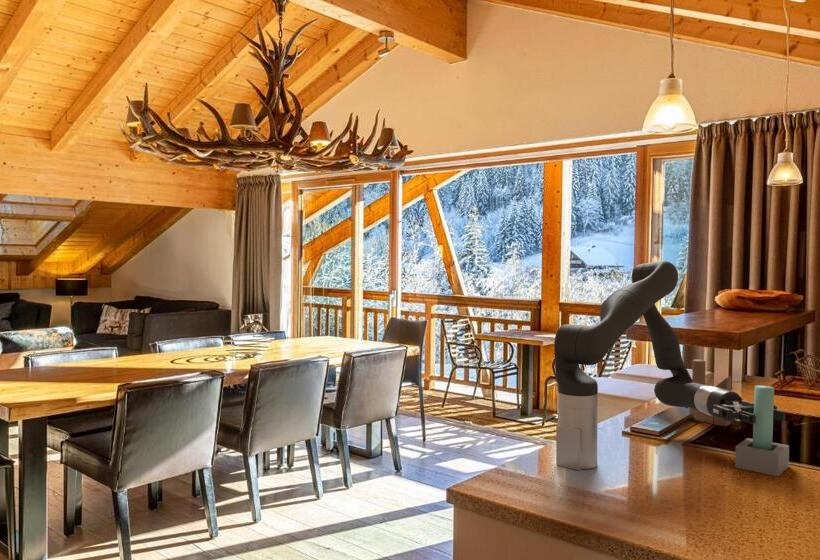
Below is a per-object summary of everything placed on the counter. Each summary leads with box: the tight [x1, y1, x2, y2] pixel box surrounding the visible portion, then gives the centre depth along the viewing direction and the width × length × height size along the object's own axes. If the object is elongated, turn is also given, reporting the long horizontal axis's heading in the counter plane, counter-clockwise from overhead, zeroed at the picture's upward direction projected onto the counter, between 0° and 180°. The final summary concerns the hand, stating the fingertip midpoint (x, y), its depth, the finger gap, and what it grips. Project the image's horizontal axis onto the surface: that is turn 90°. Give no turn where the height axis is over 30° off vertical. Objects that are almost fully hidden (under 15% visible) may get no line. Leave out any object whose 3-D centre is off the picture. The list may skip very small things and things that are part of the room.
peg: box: [752, 384, 775, 451], centre depth 152 cm, size 4×4×18 cm
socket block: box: [734, 437, 790, 477], centre depth 152 cm, size 9×9×5 cm
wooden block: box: [688, 359, 732, 427], centre depth 192 cm, size 4×11×18 cm, turn 42°
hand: (769, 418), depth 150 cm, fingers open, 8 cm apart
